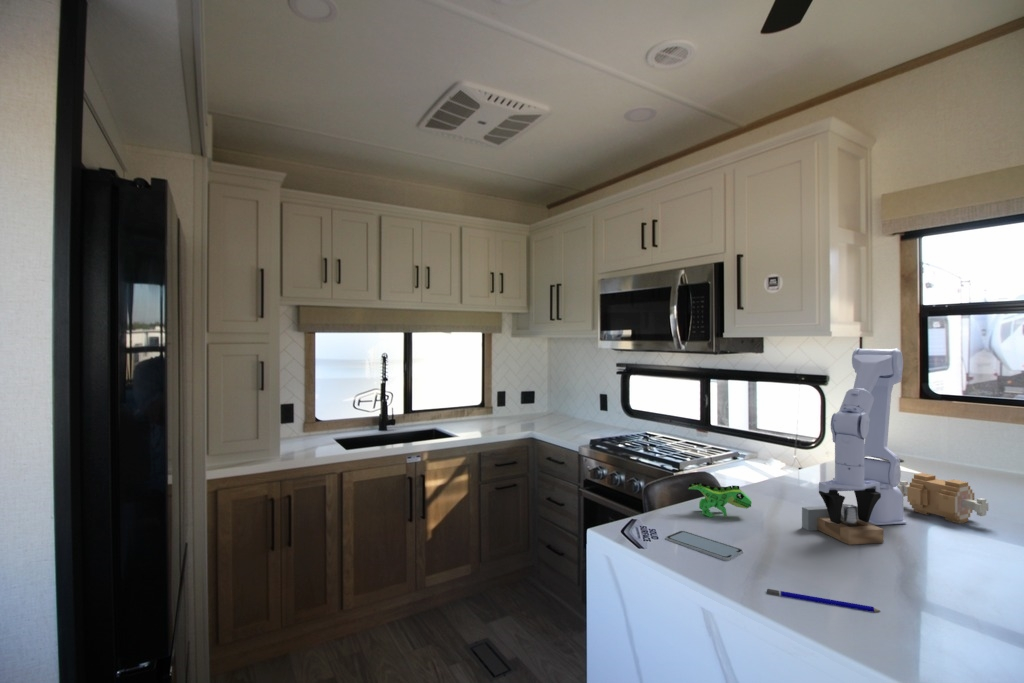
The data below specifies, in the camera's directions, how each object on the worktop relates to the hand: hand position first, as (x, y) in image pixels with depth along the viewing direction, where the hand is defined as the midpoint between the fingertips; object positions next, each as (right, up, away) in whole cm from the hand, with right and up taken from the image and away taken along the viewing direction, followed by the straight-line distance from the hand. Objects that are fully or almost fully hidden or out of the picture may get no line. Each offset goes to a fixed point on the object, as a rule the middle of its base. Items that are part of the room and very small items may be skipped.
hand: (849, 521), depth 114 cm
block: (0, -3, 0) cm, 3 cm away
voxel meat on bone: (+34, -4, +15) cm, 37 cm away
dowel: (0, -3, 0) cm, 3 cm away
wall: (-1, -4, +5) cm, 6 cm away
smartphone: (-37, -4, -6) cm, 37 cm away
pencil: (-25, -3, -30) cm, 39 cm away
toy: (-25, -4, +14) cm, 29 cm away
